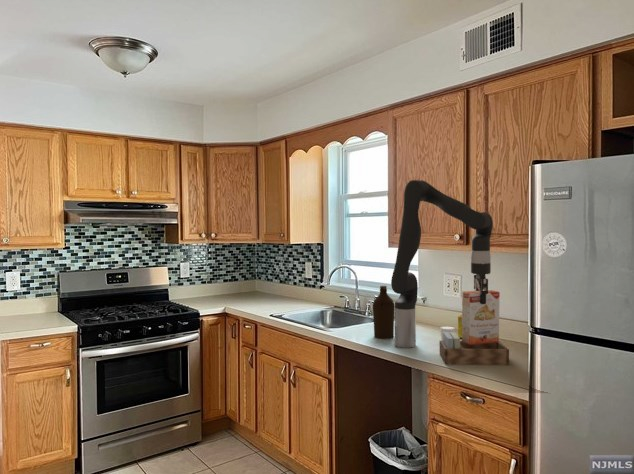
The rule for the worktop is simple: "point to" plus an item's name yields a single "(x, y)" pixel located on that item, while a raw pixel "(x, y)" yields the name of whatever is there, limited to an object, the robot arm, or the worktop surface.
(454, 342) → the offcut
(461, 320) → the yellow cylinder
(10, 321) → the worktop surface
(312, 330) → the worktop surface
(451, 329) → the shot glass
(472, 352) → the wooden tray
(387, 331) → the olive oil
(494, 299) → the cracker box
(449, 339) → the offcut
